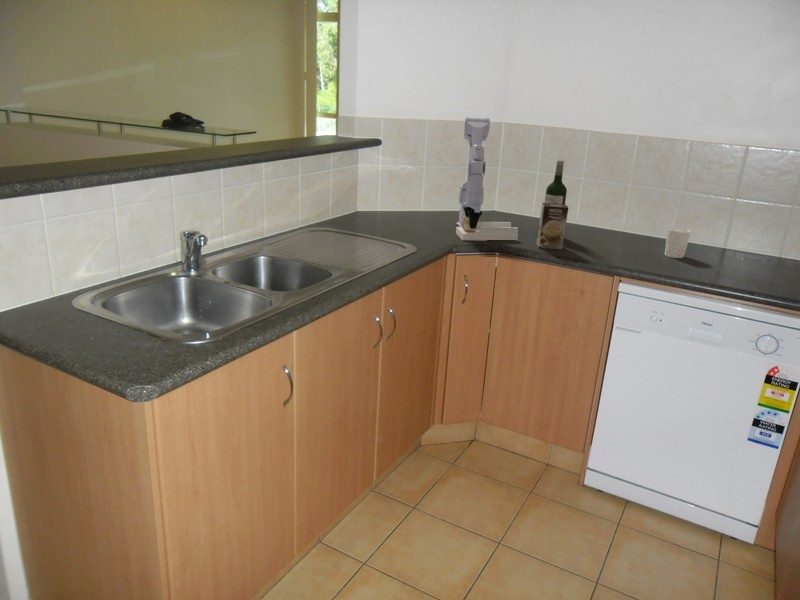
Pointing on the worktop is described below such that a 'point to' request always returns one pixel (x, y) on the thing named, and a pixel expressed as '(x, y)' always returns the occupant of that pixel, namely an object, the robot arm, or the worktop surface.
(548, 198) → the wine bottle
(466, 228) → the block
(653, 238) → the worktop surface
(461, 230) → the white tray
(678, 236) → the white cup
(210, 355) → the worktop surface
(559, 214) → the coffee box
